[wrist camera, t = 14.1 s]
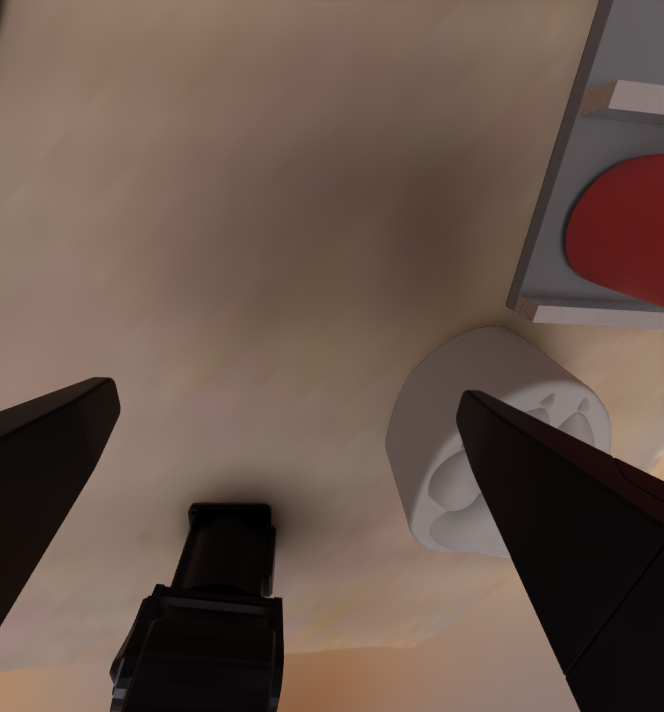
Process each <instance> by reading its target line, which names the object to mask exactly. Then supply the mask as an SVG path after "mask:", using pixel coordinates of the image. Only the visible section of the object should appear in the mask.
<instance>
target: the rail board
mask: <svg viewBox="0 0 664 712" xmlns="http://www.w3.org/2000/svg"><path fill="white" fill-rule="evenodd" d="M653 154H664V0H600V1H599V4H598V8H597V11H596V14H595V17H594V21H593V24H592V27H591V30H590V34H589V37H588V40H587V43H586V47H585V50H584V53H583V56H582V60H581V63H580V66H579V69H578V73H577V76H576V79H575V82H574V86H573V89H572V92H571V95H570V99H569V102H568V105H567V108H566V112H565V115H564V118H563V121H562V125H561V128H560V131H559V134H558V138H557V141H556V144H555V147H554V150H553V154H552V157H551V160H550V163H549V167H548V170H547V173H546V176H545V180H544V183H543V186H542V189H541V193H540V196H539V199H538V202H537V206H536V209H535V212H534V215H533V219H532V222H531V225H530V228H529V232H528V235H527V238H526V241H525V245H524V248H523V251H522V254H521V258H520V261H519V264H518V267H517V271H516V274H515V277H514V280H513V284H512V287H511V290H510V293H509V297H508V300H507V303H506V306H507V307H509V308H510V309H512V310H514V311H515V312H517V313H518V314H520V315H522V316H523V317H525V318H526V319H528V320H530V321H531V322H533V323H552V324H571V325H590V326H609V327H627V328H646V329H664V308H661V307H659V306H656V305H653V304H650V303H647V302H645V301H642V300H639V299H636V298H633V297H631V296H628V295H625V294H622V293H619V292H617V291H614V290H611V289H608V288H605V287H603V286H600V285H597V284H594V283H592V282H590V281H588V280H585V279H583V278H581V277H580V276H579V275H578V273H577V272H576V271H575V270H574V269H573V268H572V266H571V265H570V262H569V259H568V255H567V252H566V230H567V227H568V224H569V222H570V219H571V216H572V213H573V210H574V209H575V207H576V206H577V204H578V202H579V201H580V199H581V198H582V196H583V194H584V193H585V191H586V190H587V189H588V188H589V187H590V186H591V185H592V184H593V183H594V182H595V181H596V180H597V179H598V178H599V177H600V176H601V175H603V174H604V173H606V172H607V171H609V170H611V169H612V168H614V167H616V166H617V165H619V164H621V163H622V162H624V161H626V160H630V159H633V158H637V157H640V156H644V155H653Z"/></svg>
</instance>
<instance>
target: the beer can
mask: <svg viewBox="0 0 664 712" xmlns="http://www.w3.org/2000/svg"><path fill="white" fill-rule="evenodd" d="M566 252H567V255H568V259H569V262H570V265H571V266H572V268H573V269H574V270H575V271H576V272H577V273H578V275H579V276H580V277H581V278H583V279H585V280H588V281H590V282H592V283H594V284H597V285H600V286H603V287H605V288H608V289H611V290H614V291H617V292H619V293H622V294H625V295H628V296H631V297H633V298H636V299H639V300H642V301H645V302H647V303H650V304H653V305H656V306H659V307H661V308H664V154H653V155H644V156H640V157H637V158H633V159H630V160H626V161H624V162H622V163H621V164H619V165H617V166H616V167H614V168H612V169H611V170H609V171H607V172H606V173H604V174H603V175H601V176H600V177H599V178H598V179H597V180H596V181H595V182H594V183H593V184H592V185H591V186H590V187H589V188H588V189H587V190H586V191H585V193H584V194H583V196H582V198H581V199H580V201H579V202H578V204H577V206H576V207H575V209H574V210H573V213H572V216H571V219H570V222H569V224H568V227H567V230H566Z"/></svg>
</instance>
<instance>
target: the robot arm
mask: <svg viewBox="0 0 664 712" xmlns="http://www.w3.org/2000/svg"><path fill="white" fill-rule="evenodd" d="M119 415H120V402H119V397H118V393H117V388H116V384H115V381H114V380H113V379H112V378H108V377H93V378H90V379H87V380H84V381H82V382H79V383H76V384H74V385H71V386H68V387H65V388H63V389H60V390H57V391H54V392H52V393H49V394H46V395H44V396H41V397H38V398H35V399H33V400H30V401H27V402H24V403H22V404H19V405H16V406H14V407H11V408H8V409H5V410H3V411H0V626H1V624H2V623H3V621H4V619H5V618H6V616H7V614H8V613H9V611H10V609H11V608H12V606H13V604H14V603H15V601H16V599H17V598H18V596H19V594H20V593H21V591H22V589H23V588H24V586H25V584H26V583H27V581H28V579H29V578H30V576H31V574H32V573H33V571H34V569H35V568H36V566H37V564H38V563H39V561H40V559H41V558H42V556H43V554H44V553H45V551H46V549H47V548H48V546H49V544H50V543H51V541H52V539H53V538H54V536H55V534H56V533H57V531H58V529H59V528H60V526H61V524H62V523H63V521H64V519H65V518H66V516H67V514H68V513H69V511H70V509H71V508H72V506H73V504H74V503H75V501H76V499H77V498H78V496H79V494H80V493H81V491H82V489H83V488H84V486H85V484H86V483H87V481H88V479H89V478H90V476H91V474H92V472H93V471H94V469H95V467H96V465H97V463H98V461H99V459H100V457H101V455H102V452H103V450H104V448H105V446H106V444H107V441H108V439H109V437H110V435H111V433H112V430H113V428H114V426H115V424H116V422H117V419H118V417H119ZM456 424H457V427H458V430H459V433H460V436H461V440H462V443H463V446H464V449H465V452H466V455H467V458H468V461H469V464H470V467H471V470H472V472H473V475H474V477H475V479H476V482H477V484H478V486H479V488H480V490H481V493H482V495H483V497H484V499H485V501H486V504H487V506H488V508H489V510H490V513H491V515H492V517H493V519H494V521H495V524H496V526H497V528H498V530H499V532H500V535H501V537H502V539H503V541H504V543H505V546H506V548H507V550H508V552H509V554H510V557H511V559H512V561H513V563H514V565H515V568H516V570H517V572H518V574H519V576H520V579H521V581H522V583H523V585H524V587H525V590H526V592H527V594H528V596H529V598H530V601H531V603H532V605H533V607H534V610H535V612H536V614H537V616H538V618H539V620H540V623H541V625H542V627H543V629H544V632H545V634H546V636H547V638H548V640H549V643H550V645H551V647H552V649H553V651H554V653H555V656H556V658H557V660H558V663H559V665H560V667H561V669H562V671H563V674H564V675H565V676H566V681H567V683H568V685H569V687H570V690H571V692H572V694H573V696H574V698H575V701H576V703H577V705H578V707H579V709H580V712H664V481H662V480H660V479H658V478H656V477H654V476H652V475H650V474H648V473H646V472H644V471H642V470H640V469H638V468H636V467H633V466H631V465H629V464H627V463H625V462H623V461H621V460H619V459H617V458H613V457H612V456H611V455H609V454H607V453H605V452H603V451H601V450H599V449H597V448H595V447H593V446H591V445H589V444H587V443H585V442H583V441H581V440H579V439H577V438H575V437H573V436H571V435H569V434H567V433H565V432H563V431H561V430H559V429H557V428H555V427H553V426H551V425H549V424H547V423H545V422H543V421H541V420H539V419H537V418H535V417H533V416H531V415H529V414H527V413H525V412H523V411H521V410H519V409H517V408H515V407H513V406H511V405H509V404H507V403H505V402H503V401H501V400H499V399H497V398H495V397H493V396H491V395H489V394H487V393H485V392H483V391H480V390H465V391H464V392H463V394H462V396H461V400H460V403H459V407H458V410H457V414H456ZM188 516H189V523H190V530H189V533H188V536H187V539H186V542H185V545H184V548H183V551H182V554H181V557H180V560H179V563H178V566H177V569H176V572H175V575H174V578H173V581H172V584H171V587H167V586H165V585H163V584H156V586H155V588H154V591H153V593H152V595H151V596H148V597H147V598H145V599H143V601H142V604H141V606H140V609H139V611H138V614H137V616H136V619H135V621H134V624H133V626H132V628H131V630H130V632H129V634H128V636H127V637H126V639H125V641H124V643H123V645H122V646H121V648H120V650H119V652H118V654H117V656H116V657H115V659H114V661H113V664H112V666H111V669H110V673H109V674H110V676H111V679H112V681H113V683H114V687H113V691H112V695H113V699H112V703H111V708H110V712H276V711H277V708H278V703H279V698H280V692H281V685H282V678H283V665H284V640H283V608H282V598H279V597H274V598H266V597H270V595H271V594H272V590H273V578H274V566H275V554H276V528H275V527H274V526H271V507H270V506H268V505H192V506H191V507H190V508H189V511H188Z"/></svg>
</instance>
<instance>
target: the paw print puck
mask: <svg viewBox="0 0 664 712" xmlns="http://www.w3.org/2000/svg"><path fill="white" fill-rule="evenodd" d="M465 390H480V391H483V392H485V393H487V394H489V395H491V396H493V397H495V398H497V399H499V400H501V401H503V402H505V403H507V404H509V405H511V406H513V407H515V408H517V409H519V410H521V411H523V412H525V413H527V414H529V415H531V416H533V417H535V418H537V419H539V420H541V421H543V422H545V423H547V424H549V425H551V426H553V427H555V428H557V429H559V430H561V431H563V432H565V433H567V434H569V435H571V436H573V437H575V438H577V439H579V440H581V441H583V442H585V443H587V444H589V445H591V446H593V447H595V448H597V449H599V450H601V451H603V452H605V453H607V454H609V455H610V449H611V423H610V419H609V416H608V413H607V411H606V408H605V407H604V405H603V403H602V402H601V400H600V399H599V397H598V396H597V395H596V394H595V392H594V391H593V390H592V389H590V388H589V387H588V386H587V385H585V384H584V383H583V382H581V381H580V380H579V379H577V378H576V377H575V376H573V375H572V374H571V373H570V372H568V371H567V370H566V369H564V368H563V367H561V366H560V365H559V364H557V363H556V362H555V361H553V360H552V359H551V358H549V357H548V356H547V355H545V354H544V353H542V352H541V351H540V350H538V349H537V348H536V347H534V346H533V345H531V344H530V343H529V342H527V341H526V340H525V339H523V338H522V337H521V336H519V335H518V334H516V333H515V332H513V331H512V330H509V329H507V328H503V327H496V326H490V327H482V328H478V329H475V330H472V331H469V332H466V333H464V334H462V335H459V336H457V337H455V338H453V339H451V340H449V341H448V342H446V343H445V344H443V345H442V346H440V347H439V348H438V349H437V350H435V351H434V352H433V353H432V354H431V355H429V356H428V357H427V358H426V359H425V360H424V361H423V362H422V363H421V364H419V365H418V366H417V367H416V368H415V369H414V370H413V371H412V372H411V374H410V375H409V376H408V378H407V380H406V382H405V383H404V385H403V388H402V390H401V392H400V394H399V397H398V399H397V402H396V404H395V407H394V410H393V413H392V416H391V419H390V424H389V428H388V432H387V436H386V451H387V455H388V458H389V461H390V465H391V468H392V472H393V475H394V478H395V482H396V485H397V488H398V492H399V495H400V498H401V502H402V505H403V508H404V511H405V515H406V518H407V521H408V525H409V529H410V532H411V534H412V536H413V537H414V539H415V540H416V541H417V542H418V543H419V544H420V545H421V546H423V547H424V548H426V549H429V550H432V551H438V552H462V553H467V552H478V553H483V554H487V555H492V556H496V557H503V558H511V557H510V554H509V552H508V550H507V548H506V546H505V543H504V541H503V539H502V537H501V535H500V532H499V530H498V528H497V526H496V524H495V521H494V519H493V517H492V515H491V513H490V510H489V508H488V506H487V504H486V501H485V499H484V497H483V495H482V493H481V490H480V488H479V486H478V484H477V482H476V479H475V477H474V475H473V472H472V470H471V467H470V464H469V461H468V458H467V455H466V452H465V449H464V446H463V443H462V440H461V436H460V433H459V430H458V427H457V424H456V414H457V410H458V407H459V403H460V400H461V396H462V394H463V392H464V391H465Z"/></svg>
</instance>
